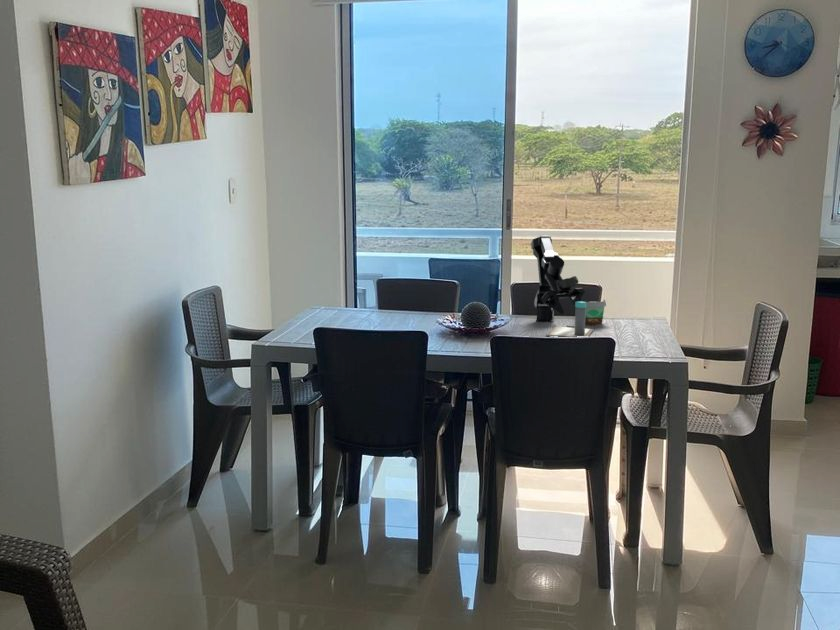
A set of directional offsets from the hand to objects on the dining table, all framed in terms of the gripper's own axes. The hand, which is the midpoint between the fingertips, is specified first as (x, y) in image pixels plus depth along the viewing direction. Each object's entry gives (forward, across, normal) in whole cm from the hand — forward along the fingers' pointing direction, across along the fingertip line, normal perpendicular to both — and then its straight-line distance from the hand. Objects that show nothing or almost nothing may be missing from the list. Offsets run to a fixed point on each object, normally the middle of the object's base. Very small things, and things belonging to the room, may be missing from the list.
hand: (572, 312), depth 326 cm
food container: (-1, +21, +14) cm, 25 cm away
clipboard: (+5, 0, +7) cm, 9 cm away
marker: (+9, 0, +2) cm, 9 cm away
